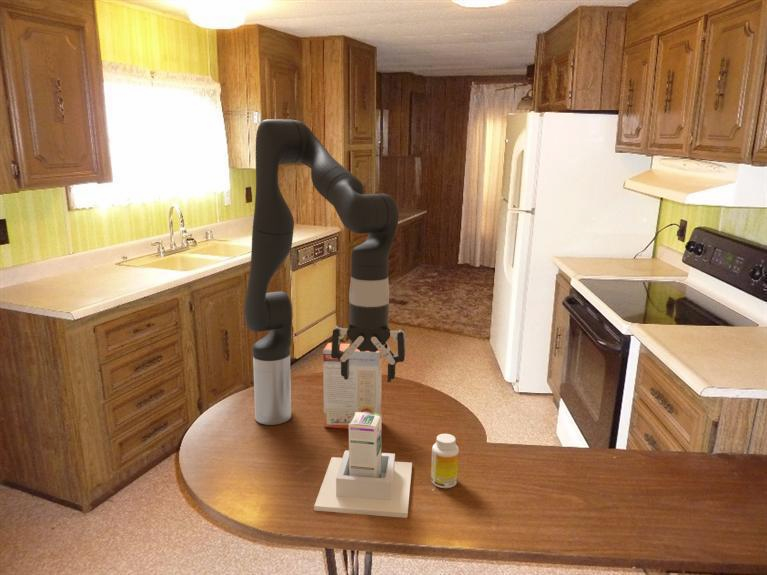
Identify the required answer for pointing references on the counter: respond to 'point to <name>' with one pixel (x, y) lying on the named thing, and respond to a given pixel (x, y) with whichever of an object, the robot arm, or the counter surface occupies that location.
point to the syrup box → (365, 445)
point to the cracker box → (351, 386)
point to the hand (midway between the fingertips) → (367, 379)
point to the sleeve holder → (366, 489)
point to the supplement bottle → (445, 461)
